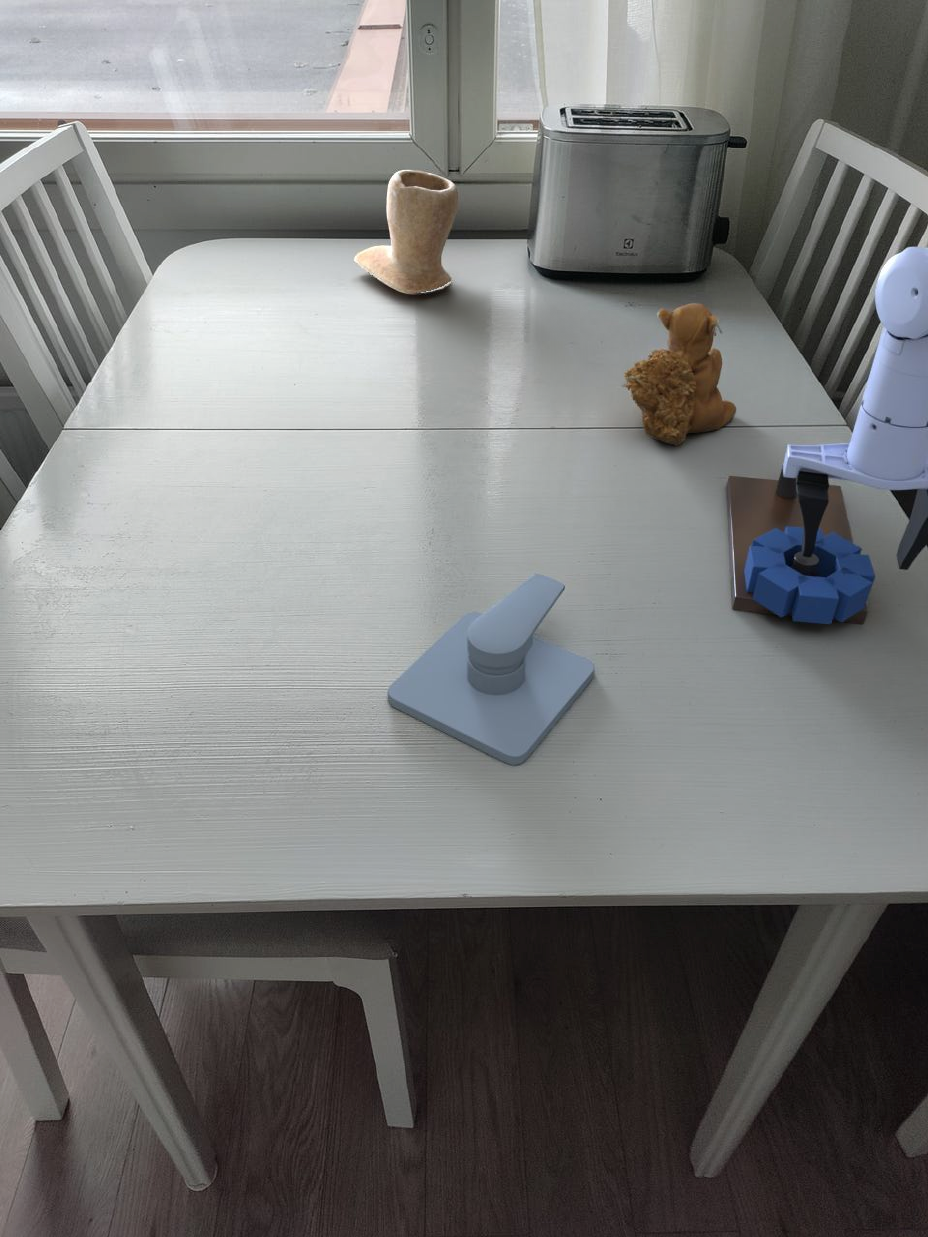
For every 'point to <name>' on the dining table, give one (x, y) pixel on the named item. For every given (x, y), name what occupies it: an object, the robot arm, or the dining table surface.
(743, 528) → the peg rack
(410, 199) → the stone cup
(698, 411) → the stuffed squirrel
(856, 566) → the ring
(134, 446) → the dining table surface
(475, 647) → the shower valve
